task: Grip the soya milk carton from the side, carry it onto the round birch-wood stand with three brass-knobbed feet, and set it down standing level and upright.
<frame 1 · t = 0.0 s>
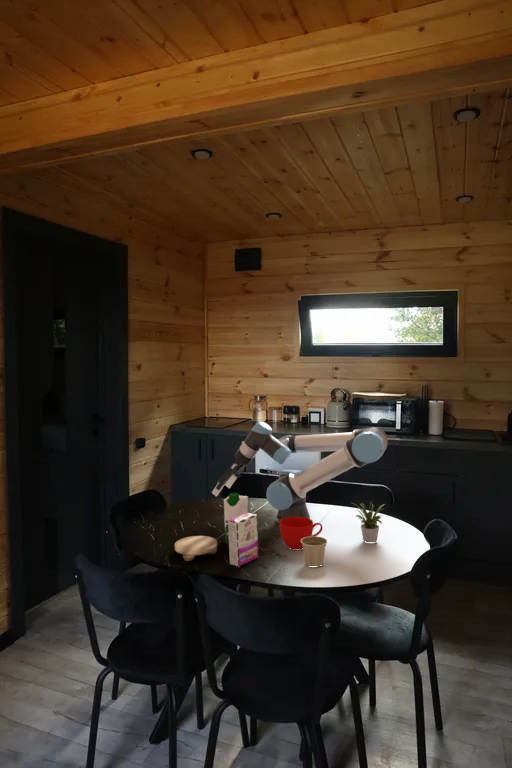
hand: (220, 490, 231), 15 cm above the table, tool tilted 35°, fingers open, 13 cm apart
ceramic cup: (301, 547, 204), on the table
house plant: (366, 542, 208), on the table
flower pot: (314, 565, 187), on the table
candy bar box: (244, 561, 191), on the table
soya milk: (237, 542, 210), on the table
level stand: (196, 553, 199), on the table
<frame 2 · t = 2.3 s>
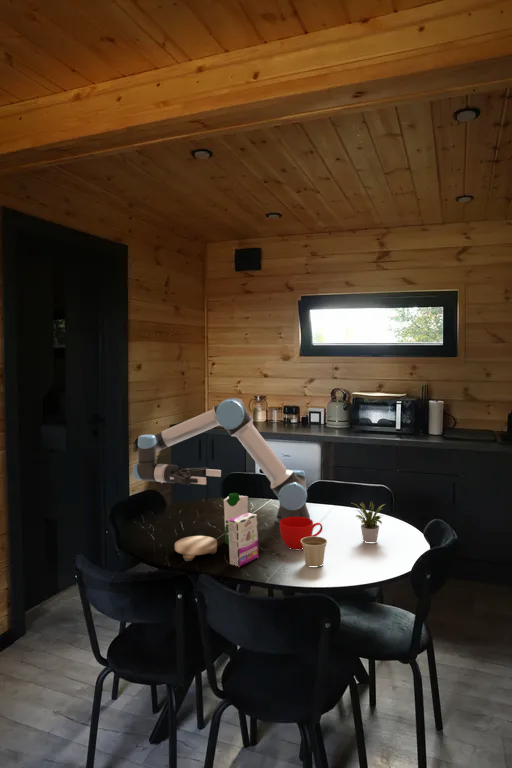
hand: (213, 477, 212), 26 cm above the table, tool horizontal, fingers open, 13 cm apart
nothing on the table moved.
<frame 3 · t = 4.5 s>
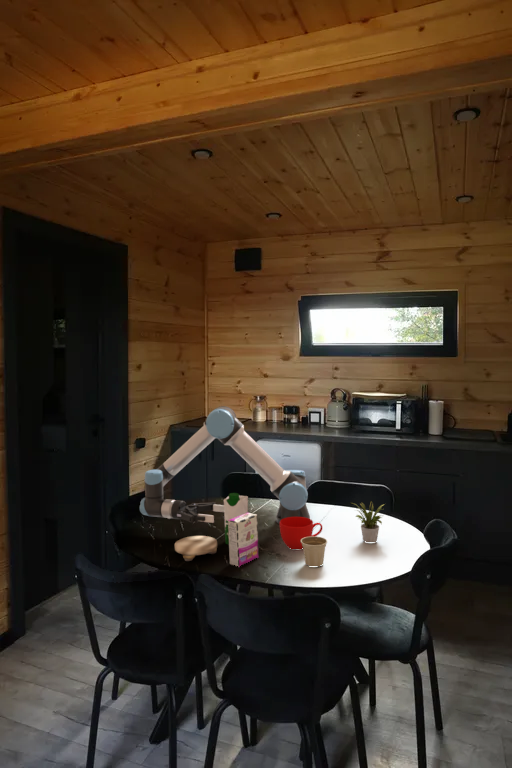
hand: (220, 513, 212), 11 cm above the table, tool horizontal, fingers open, 13 cm apart
nothing on the table moved.
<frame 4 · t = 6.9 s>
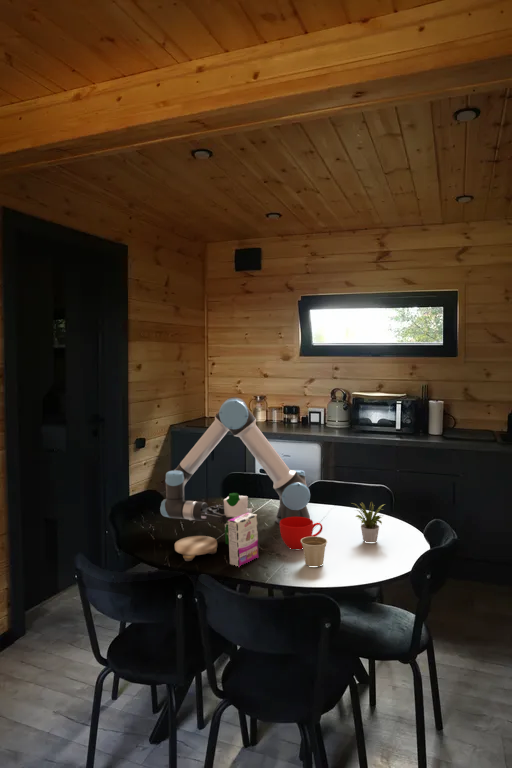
hand: (246, 515, 208), 11 cm above the table, tool horizontal, fingers closed on soya milk, 9 cm apart
soya milk: (237, 542, 210), on the table, touching gripper
everything else where it was.
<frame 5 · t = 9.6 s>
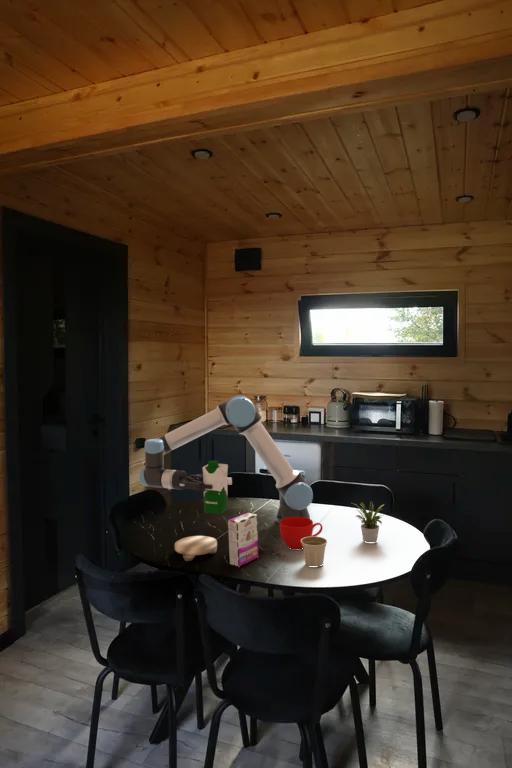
hand: (226, 484, 203), 25 cm above the table, tool horizontal, fingers closed on soya milk, 9 cm apart
soya milk: (216, 511, 205), point 14 cm above the table, touching gripper
everything else where it was.
when the fingers open (16 cm above the table, at t = 12.8 s): soya milk stays where it is, resting on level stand.
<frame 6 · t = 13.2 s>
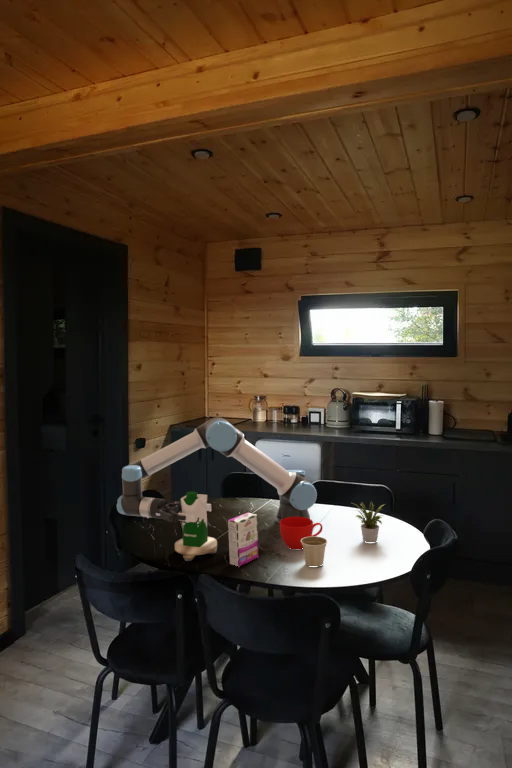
hand: (203, 512, 197), 16 cm above the table, tool horizontal, fingers open, 13 cm apart
soya milk: (195, 543, 199), point 4 cm above the table, touching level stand
everything else where it was.
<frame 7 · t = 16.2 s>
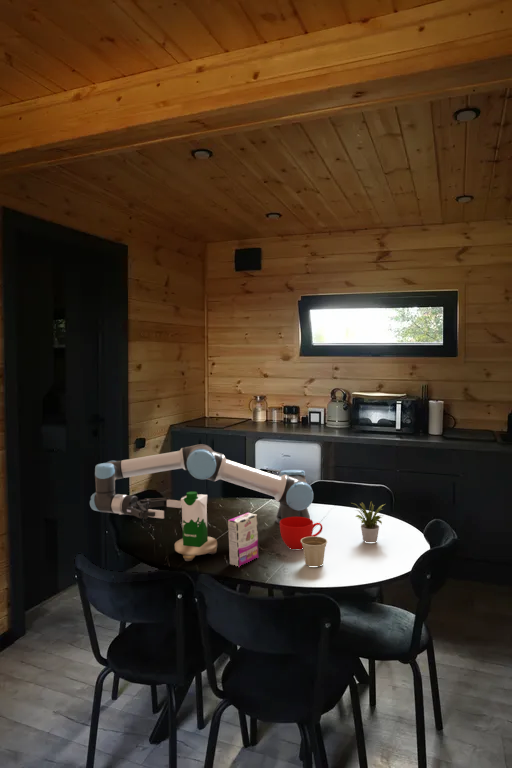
hand: (172, 509, 201), 16 cm above the table, tool horizontal, fingers open, 13 cm apart
nothing on the table moved.
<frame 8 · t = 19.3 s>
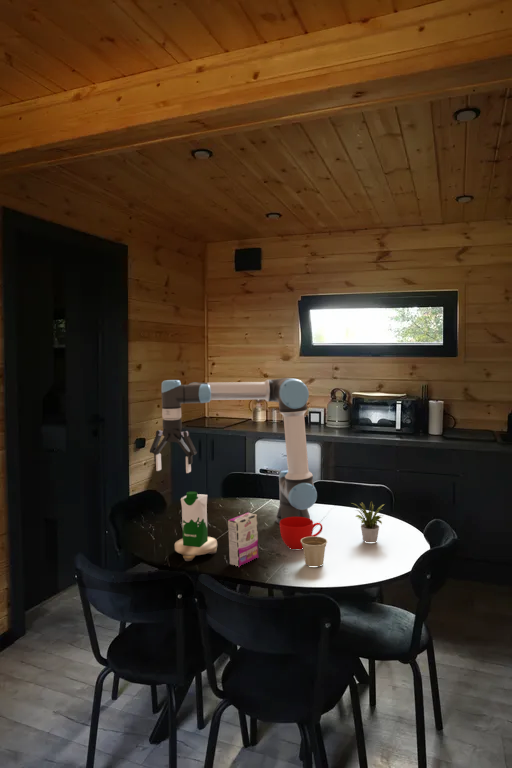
hand: (173, 471, 211), 29 cm above the table, tool pointing down, fingers open, 13 cm apart
nothing on the table moved.
at the end: soya milk inside the target area on the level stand (0.1 cm from its centre), point 3.8 cm above the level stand's base; soya milk tilted 0°; the gripper is holding nothing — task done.
